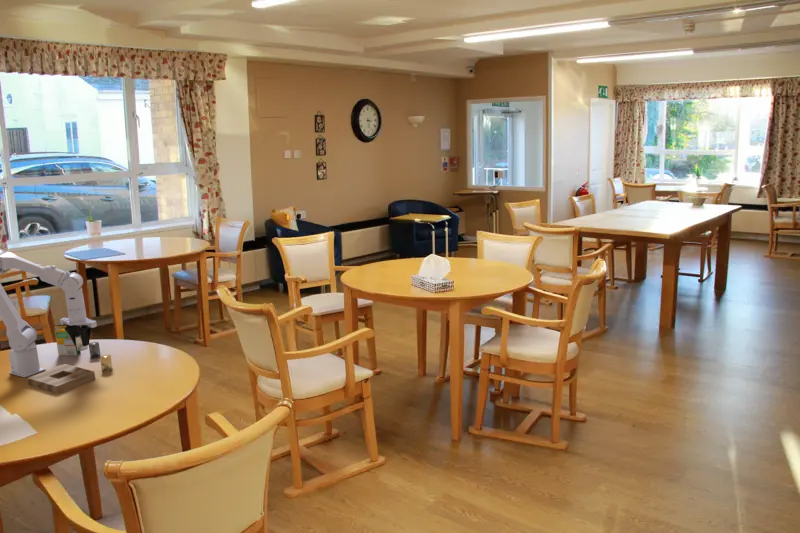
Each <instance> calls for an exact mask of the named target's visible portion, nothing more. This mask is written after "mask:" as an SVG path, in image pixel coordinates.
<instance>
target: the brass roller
mask: <svg viewBox="0 0 800 533" xmlns="http://www.w3.org/2000/svg"><path fill="white" fill-rule="evenodd" d="M111 356H112V355H111V354H104V355H101V356H100V357H99V359H100V367H101V371H102V373H103V372H104V373H107V372H111V371H113V369H114V368H113V364H112V362H113V361H112V357H111Z"/></svg>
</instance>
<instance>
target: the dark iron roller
mask: <svg viewBox="0 0 800 533" xmlns="http://www.w3.org/2000/svg"><path fill="white" fill-rule="evenodd" d="M88 350H89V356H90V358H91V359H97V358H100V357H101V356H102V355H101V354H102V353H101V348H100V342H98V341H92V342H89V345H88Z"/></svg>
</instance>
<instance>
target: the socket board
mask: <svg viewBox="0 0 800 533" xmlns="http://www.w3.org/2000/svg"><path fill="white" fill-rule="evenodd" d="M26 379H27V384H28V386H31V387H34V388H38V389H41V390H43V391H48V392H51V393H55V394H60V393H63V392H65V391H68V390H70V389H72V388H75V387H77V386H79V385H83V384H86V383H87V382H89V381H92V380H94V379H96V374H95V371H94V370H91V369H86V368H82V367H79V366H75V365H71V364H68V363H64V364H61V365H59V366H55V367H54V368H53V367H52V368H51V369H47V370H44V371H41V372H39V373H36V374H33V375H30V376H28V377H26Z"/></svg>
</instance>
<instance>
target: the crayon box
mask: <svg viewBox="0 0 800 533" xmlns="http://www.w3.org/2000/svg"><path fill="white" fill-rule="evenodd" d="M65 327H67V325H54V334H55V335H54V336H55V340H56V348H57V352H58V356H59V357H62V356H75V357H76V356H78V355H80V354H81V353H82V351H77V346H76V345H74V343H73V341H72V339H71V337H70V335H69V334H68V333H67V331H66V330H65Z"/></svg>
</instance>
